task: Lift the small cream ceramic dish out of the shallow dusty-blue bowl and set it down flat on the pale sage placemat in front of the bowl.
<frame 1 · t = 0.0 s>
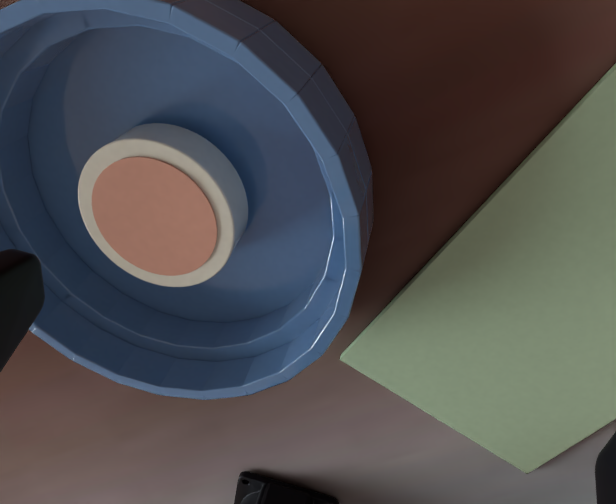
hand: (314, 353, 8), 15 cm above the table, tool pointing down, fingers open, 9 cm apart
placemat: (584, 292, 23), on the table
blue bowl: (184, 188, 25), on the table
cream dish: (179, 192, 24), resting on blue bowl
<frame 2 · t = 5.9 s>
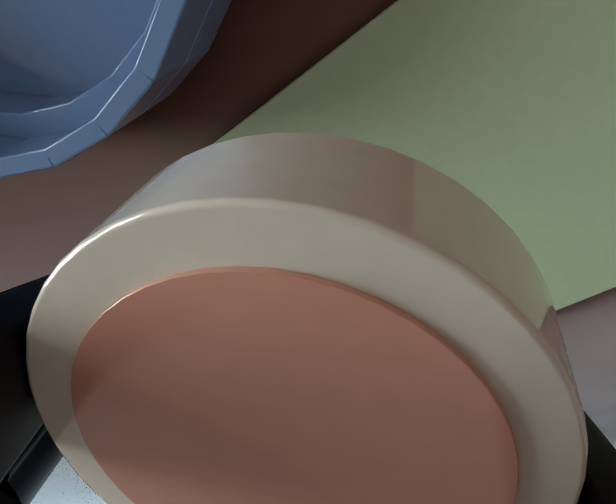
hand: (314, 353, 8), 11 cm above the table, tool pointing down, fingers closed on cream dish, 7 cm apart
placemat: (471, 177, 18), on the table
cream dish: (320, 323, 9), point 11 cm above the table, touching gripper
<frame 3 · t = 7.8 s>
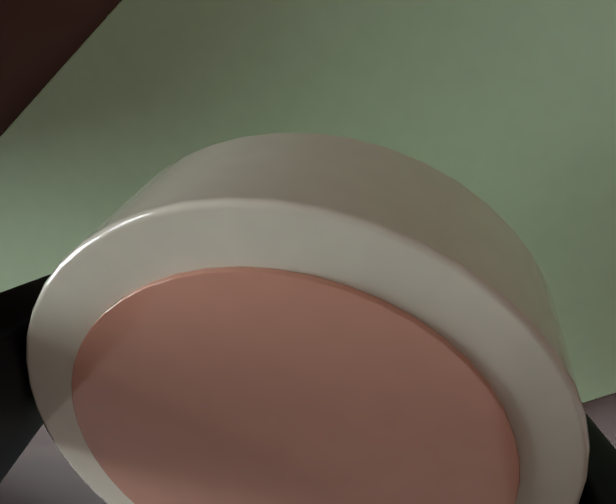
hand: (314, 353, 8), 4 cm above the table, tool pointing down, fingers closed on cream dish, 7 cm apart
placemat: (353, 231, 11), on the table
cream dish: (321, 324, 9), point 3 cm above the table, touching gripper
when the fingers open (1 cm above the table, at t = 9.2 s): cream dish stays where it is, resting on placemat.
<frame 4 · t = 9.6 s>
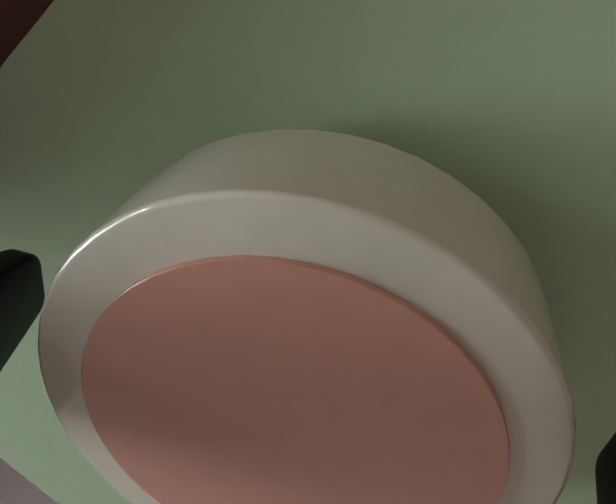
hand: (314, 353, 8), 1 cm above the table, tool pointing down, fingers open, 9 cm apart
placemat: (329, 303, 9), on the table
cream dish: (320, 315, 9), resting on placemat
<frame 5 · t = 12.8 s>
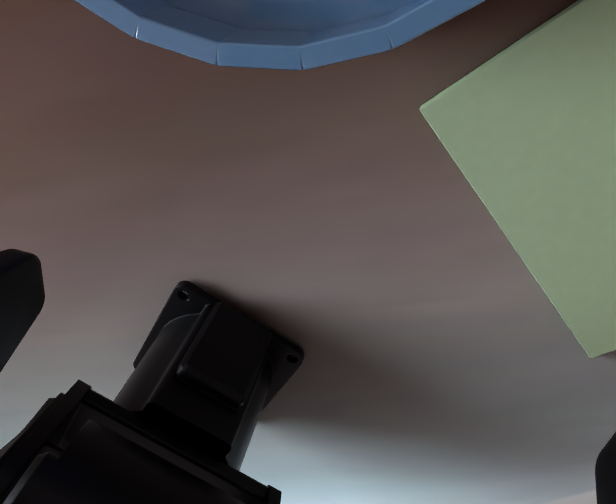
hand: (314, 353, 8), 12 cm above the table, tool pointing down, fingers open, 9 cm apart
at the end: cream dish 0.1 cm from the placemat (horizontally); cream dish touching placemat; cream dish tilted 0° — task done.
